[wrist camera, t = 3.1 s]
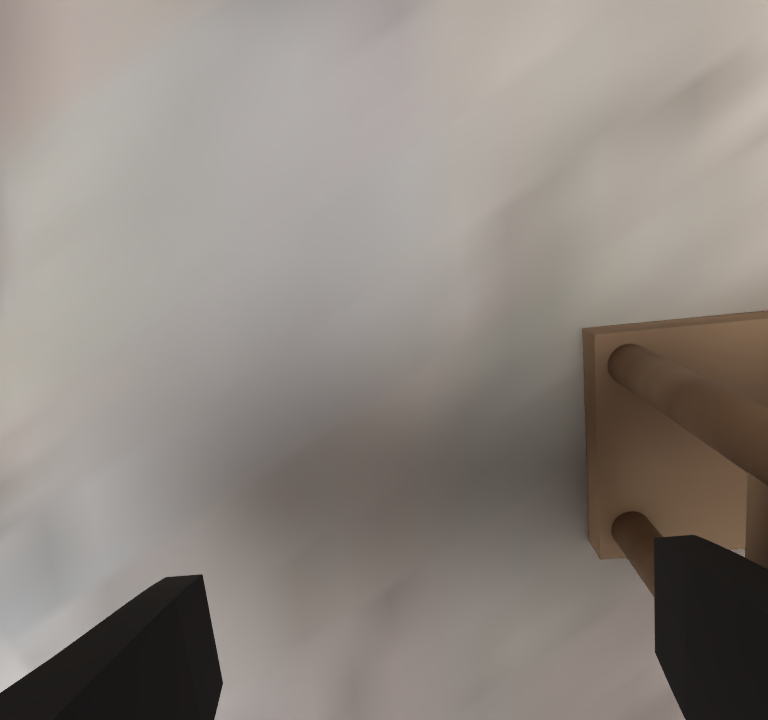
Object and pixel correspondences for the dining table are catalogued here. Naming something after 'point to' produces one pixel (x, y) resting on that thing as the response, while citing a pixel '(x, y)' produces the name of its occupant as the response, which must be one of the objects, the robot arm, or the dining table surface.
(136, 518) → the dining table surface
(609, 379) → the stool
